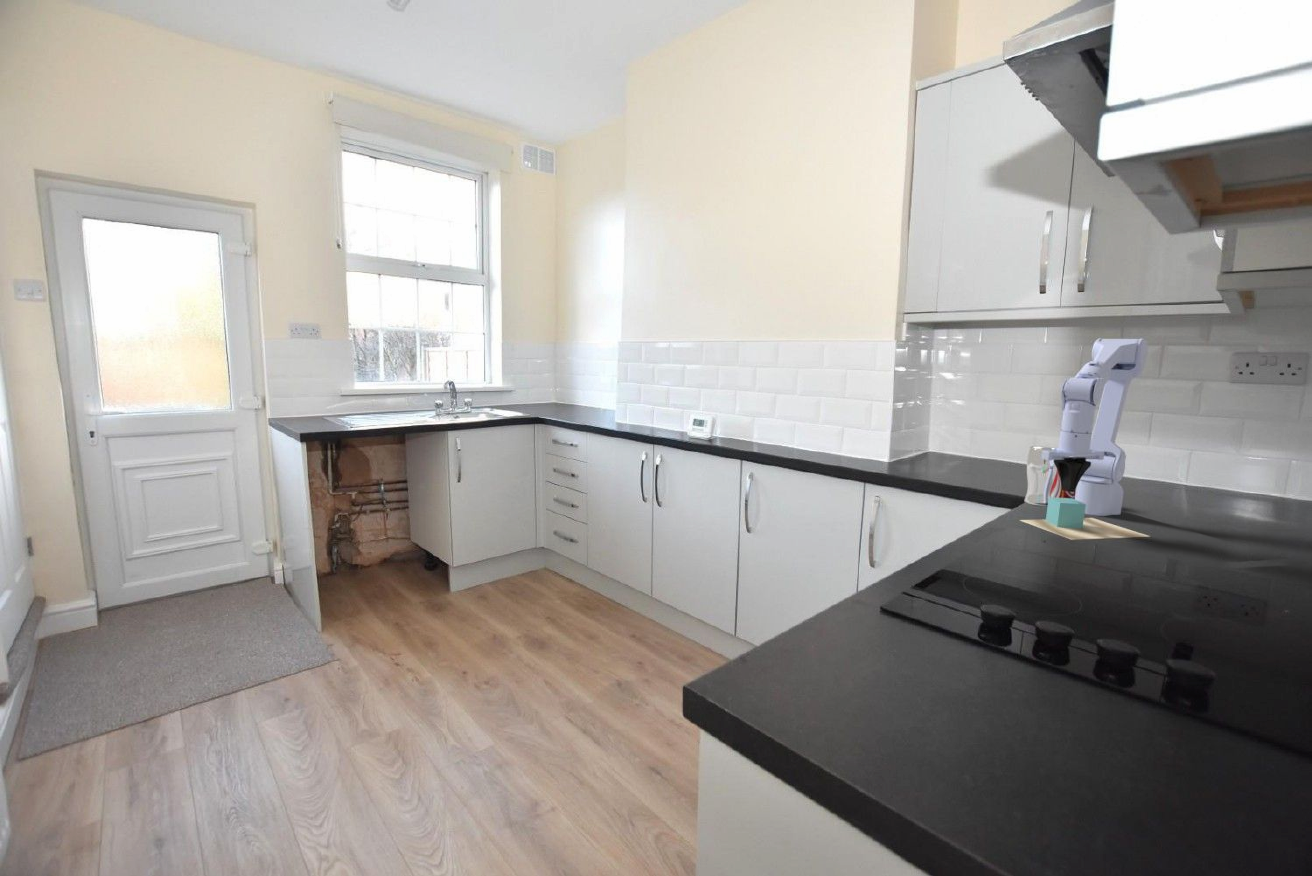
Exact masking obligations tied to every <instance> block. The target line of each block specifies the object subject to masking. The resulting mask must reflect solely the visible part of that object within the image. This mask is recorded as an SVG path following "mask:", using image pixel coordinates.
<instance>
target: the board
mask: <svg viewBox="0 0 1312 876" xmlns="http://www.w3.org/2000/svg"><path fill="white" fill-rule="evenodd" d="M1019 521H1020V522H1022V523H1025V524H1029V525H1031V526H1034V527H1035V528H1038V529H1042V530H1044V531H1047V532H1050V533H1053V534H1055V535H1056V536H1057V535H1058V536H1061V537H1063V538H1066V539H1069V540H1071V541H1073V540H1095V539H1097V540H1100V539H1101V540H1102V539H1125V538H1147V537H1148V538H1150V537H1151V536H1150V535H1147V534H1144V533H1141V532H1138V531H1135V530H1131V529H1129V528H1126V527H1122V526H1120V525H1115V524H1113V523H1109V522H1106V521H1103V520H1101V519H1097V518H1094V517H1084V521H1083V528H1082V529H1081V528H1066V527H1056V526H1055V525H1053V524H1051V523H1049V522H1048V521H1046V518H1045V519H1019Z"/></svg>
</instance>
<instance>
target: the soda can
mask: <svg viewBox="0 0 1312 876" xmlns="http://www.w3.org/2000/svg"><path fill="white" fill-rule="evenodd" d="M1075 494H1076V489H1075V491H1074V492H1068V491H1065V490H1062V486H1061V480H1060V476H1059V472H1058V471H1057V474H1056V477H1055V480H1054V483H1053V486H1052V489H1051V497H1055V498H1072V499H1075Z"/></svg>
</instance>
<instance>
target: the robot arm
mask: <svg viewBox="0 0 1312 876" xmlns="http://www.w3.org/2000/svg"><path fill="white" fill-rule="evenodd" d="M1148 347H1149V345H1148V341H1147V340H1146V339H1145V338H1101V337H1100V338H1097V339H1096V340H1095V341H1094V343H1093V346H1092V349H1091V360H1090V361H1089V362H1087V363H1085V364H1084V365H1083V366H1082V367H1081V369H1080V370H1079V371H1078V372H1077V373H1076V375H1075V376H1074V377H1069V379H1065V381H1064V382H1063V383H1062V388H1061V392H1060V397H1061V410H1062V411H1063V412H1062V419H1061V425H1060V426H1061V427H1060V434H1059V442H1058V447H1055V448H1056V449H1054V450H1043V451H1042V457H1041V459H1045V460H1054V464H1055V465H1056V467H1057V470H1058V472H1059V476H1060V480H1061V486H1062V490H1065V491H1068V492H1074V491H1075V489H1076V494H1075V500H1077V501H1080V502H1082V503H1084V504H1086V507H1085V514H1084V515H1091V516H1099V517H1100V516H1101V517H1107V516H1112V515H1113V516H1114V515H1115V516H1116V515H1117V516H1118V515H1121V512H1122V505H1123V500H1124V499H1123V498H1124V489H1123V487H1122V485H1121V484H1120V483H1119V482H1120V481H1122V479H1123V477H1124V474H1125V469H1126V459H1127V455H1126V452H1125V451H1124V449H1123V448H1121V447H1120V446H1119V445H1117V444H1116V439H1117V435H1118V430H1119V427H1120V423H1121V419H1122V414H1123V411H1124V407H1125V402H1126V398H1127V395H1128V391H1129V387H1130V385H1131V383H1132V381H1133V379H1135V378H1137V377H1140V376H1141V375H1142V373H1143V370H1144V368H1145V363H1146V361H1147V356H1148V349H1149V348H1148ZM1099 403H1100V404H1099ZM1098 404H1099V407H1098V410H1097V416H1096V420H1095V414H1096V407H1097V405H1098ZM1094 420H1095V421H1094ZM1094 422H1095V423H1094ZM1093 427H1094V428H1093Z"/></svg>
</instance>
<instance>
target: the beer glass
mask: <svg viewBox="0 0 1312 876" xmlns="http://www.w3.org/2000/svg"><path fill="white" fill-rule="evenodd" d="M1056 448H1057V447H1050V446H1040V445H1039V446H1037V445H1034V446H1033V445H1032V446H1030V447H1029V452H1028V455H1027V460H1026V461H1027V462H1026V479H1027V491H1026V494H1025V497H1024V503H1026V504H1029V505H1032V506H1033V505H1034V506H1038V507H1039V506H1040V507H1048V500H1049V497H1051V489H1052V486H1053V483H1054V480H1055V477H1056V474H1057V471H1058V470H1057V467H1056V465H1055V464H1054V460H1045V459H1041V457H1042V451H1043V450H1054V449H1056Z"/></svg>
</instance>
